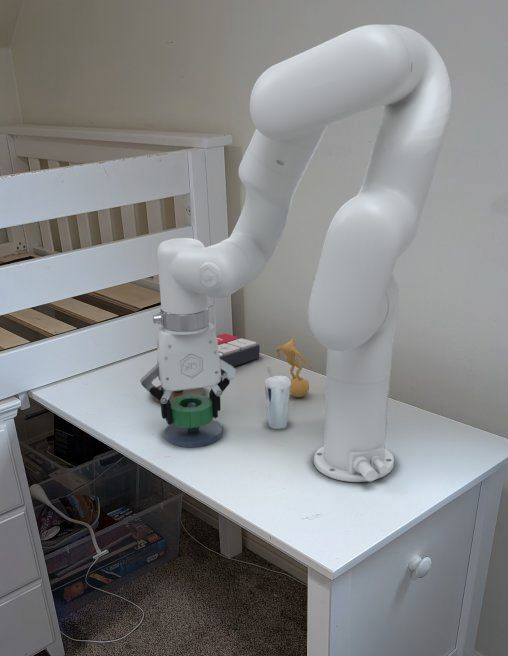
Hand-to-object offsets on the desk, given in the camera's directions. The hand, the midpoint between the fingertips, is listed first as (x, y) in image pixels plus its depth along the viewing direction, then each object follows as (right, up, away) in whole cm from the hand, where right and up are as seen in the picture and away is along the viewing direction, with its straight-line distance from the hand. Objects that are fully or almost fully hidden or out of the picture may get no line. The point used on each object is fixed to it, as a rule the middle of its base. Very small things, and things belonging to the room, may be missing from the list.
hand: (191, 417), depth 129 cm
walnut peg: (-4, +6, +17) cm, 18 cm away
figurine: (+19, +5, +14) cm, 24 cm away
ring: (0, 0, 0) cm, 0 cm away
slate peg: (0, -3, +2) cm, 3 cm away
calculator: (+4, +15, +32) cm, 36 cm away
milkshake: (+15, -1, +4) cm, 16 cm away
